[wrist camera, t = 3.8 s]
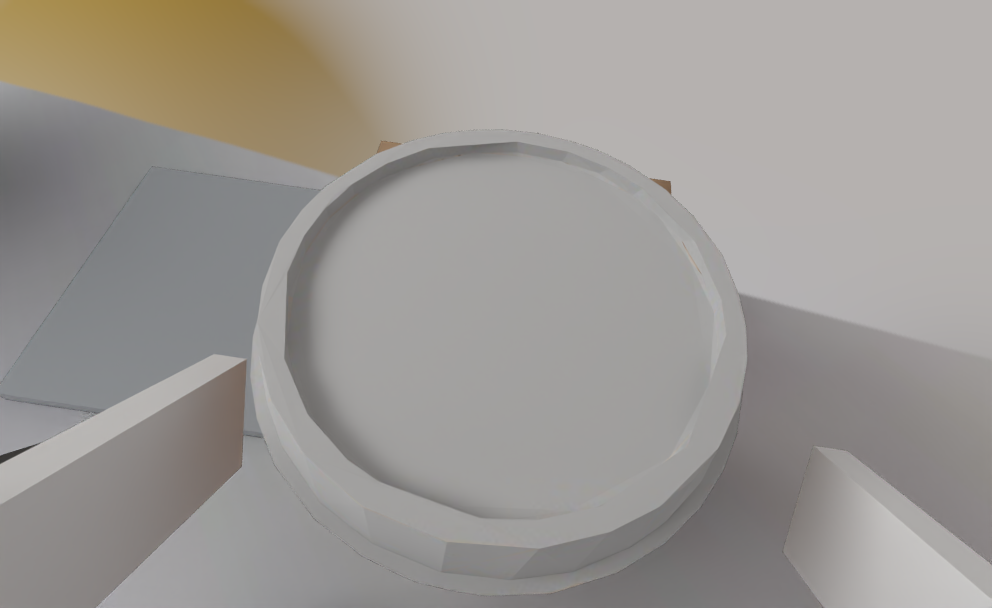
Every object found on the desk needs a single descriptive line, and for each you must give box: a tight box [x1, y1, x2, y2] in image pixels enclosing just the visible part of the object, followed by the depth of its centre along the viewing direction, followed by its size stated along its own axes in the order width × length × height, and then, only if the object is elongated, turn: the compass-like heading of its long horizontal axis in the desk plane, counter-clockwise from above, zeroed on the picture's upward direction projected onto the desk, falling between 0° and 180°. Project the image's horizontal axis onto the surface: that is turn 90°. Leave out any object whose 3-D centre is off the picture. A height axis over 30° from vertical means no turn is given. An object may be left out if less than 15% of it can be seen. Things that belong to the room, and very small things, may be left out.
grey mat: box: [0, 166, 321, 438], centre depth 23 cm, size 12×12×1 cm
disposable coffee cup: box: [250, 129, 747, 596], centre depth 14 cm, size 10×10×12 cm
